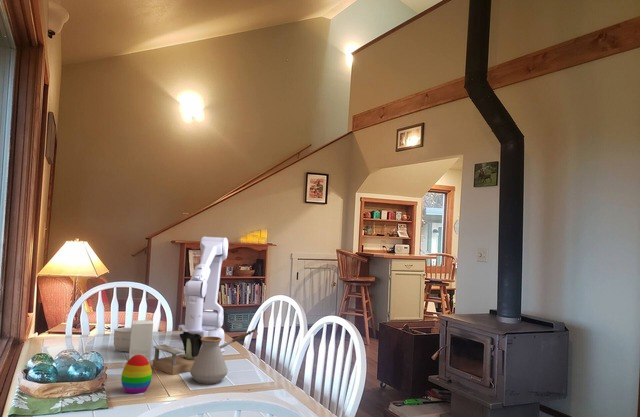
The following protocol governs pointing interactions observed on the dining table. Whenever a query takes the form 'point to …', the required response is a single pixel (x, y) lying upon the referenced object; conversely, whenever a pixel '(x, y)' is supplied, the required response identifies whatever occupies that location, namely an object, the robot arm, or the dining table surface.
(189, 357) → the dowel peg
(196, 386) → the dining table surface
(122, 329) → the teacup
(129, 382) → the decorative egg
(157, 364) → the socket board
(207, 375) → the coffee pot
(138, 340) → the supplement box
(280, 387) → the dining table surface
